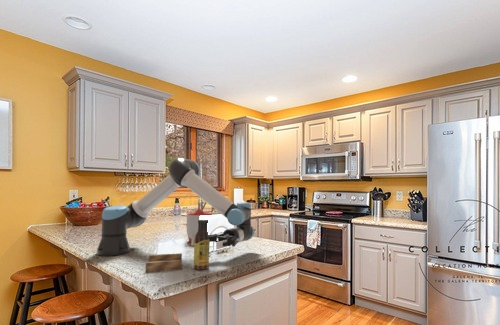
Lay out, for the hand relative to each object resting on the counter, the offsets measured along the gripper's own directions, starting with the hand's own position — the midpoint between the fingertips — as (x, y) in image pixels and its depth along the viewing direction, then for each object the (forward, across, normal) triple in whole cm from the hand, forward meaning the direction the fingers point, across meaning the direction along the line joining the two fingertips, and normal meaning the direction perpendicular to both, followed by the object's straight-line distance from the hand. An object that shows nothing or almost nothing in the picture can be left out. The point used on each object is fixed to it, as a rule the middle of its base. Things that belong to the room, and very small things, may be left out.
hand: (204, 244), depth 120 cm
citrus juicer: (-42, +39, -10) cm, 59 cm away
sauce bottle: (+1, 0, -10) cm, 10 cm away
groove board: (+6, +16, -10) cm, 20 cm away
